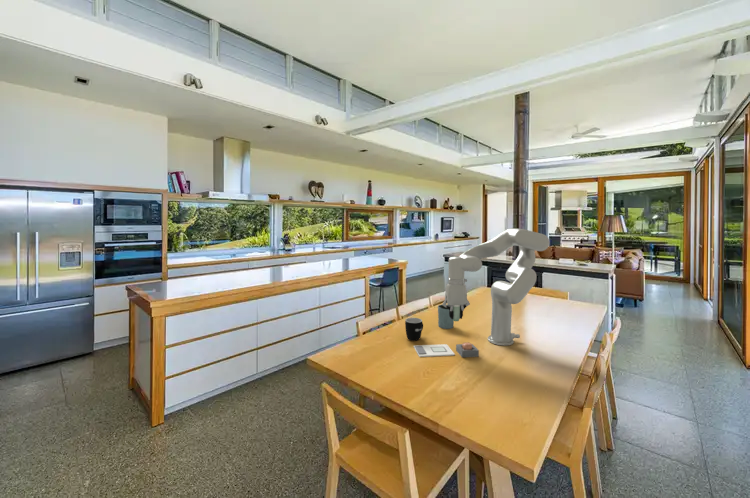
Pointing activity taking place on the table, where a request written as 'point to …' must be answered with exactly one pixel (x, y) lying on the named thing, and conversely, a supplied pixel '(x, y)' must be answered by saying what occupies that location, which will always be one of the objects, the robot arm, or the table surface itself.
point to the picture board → (433, 350)
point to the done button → (467, 346)
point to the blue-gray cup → (444, 318)
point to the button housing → (467, 351)
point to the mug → (413, 328)
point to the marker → (456, 312)
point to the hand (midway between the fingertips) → (455, 317)
